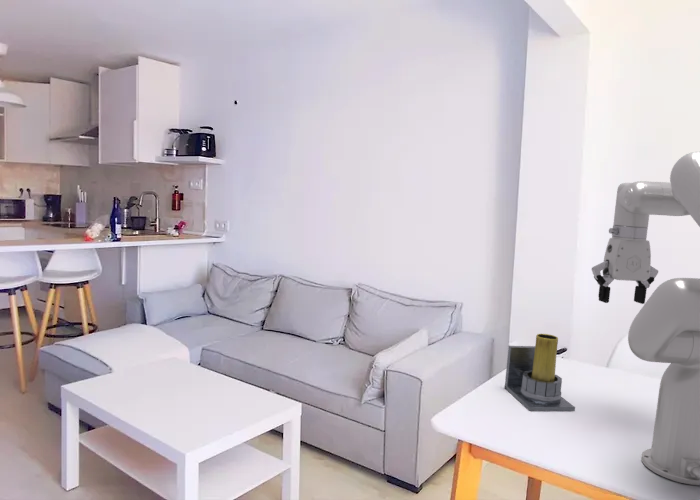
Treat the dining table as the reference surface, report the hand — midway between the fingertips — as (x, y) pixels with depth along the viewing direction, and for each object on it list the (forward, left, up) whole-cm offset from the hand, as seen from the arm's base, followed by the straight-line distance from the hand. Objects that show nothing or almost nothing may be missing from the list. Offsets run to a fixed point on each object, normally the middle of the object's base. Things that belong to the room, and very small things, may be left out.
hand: (621, 302), depth 132 cm
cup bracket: (+6, +15, -28) cm, 33 cm away
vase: (+6, +15, -25) cm, 30 cm away
